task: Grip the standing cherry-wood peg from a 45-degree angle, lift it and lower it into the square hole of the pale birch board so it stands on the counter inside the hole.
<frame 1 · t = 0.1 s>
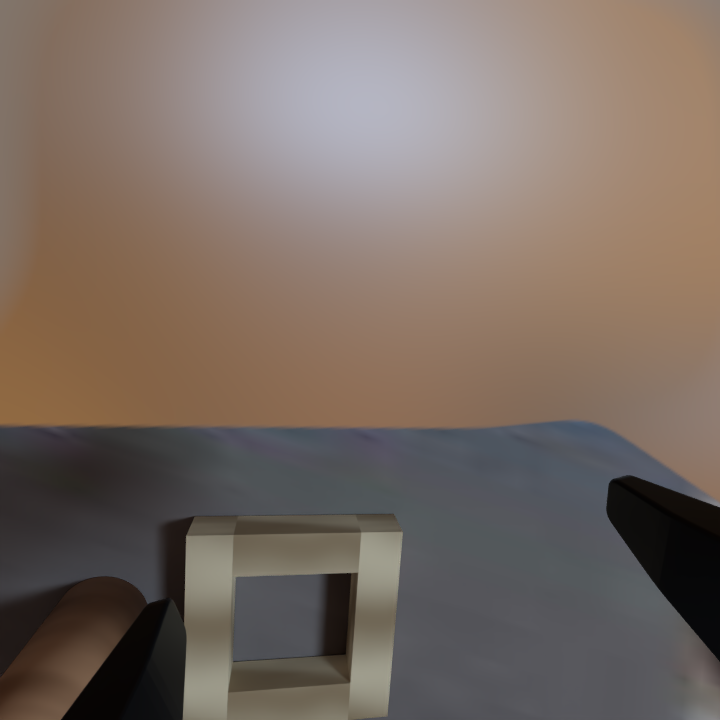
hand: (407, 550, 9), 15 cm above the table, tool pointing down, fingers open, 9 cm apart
birch hole board: (293, 606, 25), on the table
cherry wood peg: (102, 616, 23), on the table
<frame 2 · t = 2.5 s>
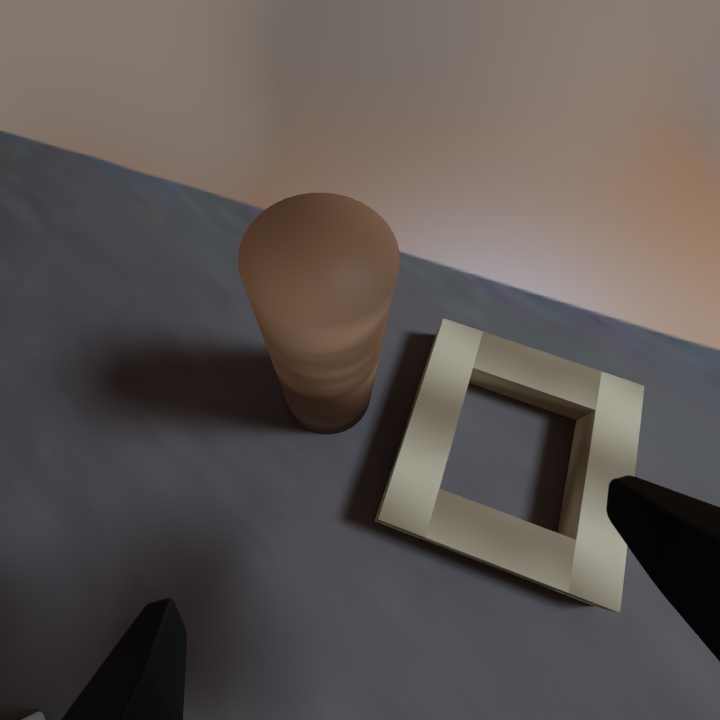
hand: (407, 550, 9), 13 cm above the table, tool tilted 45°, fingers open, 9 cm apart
birch hole board: (506, 455, 23), on the table
cherry wood peg: (328, 392, 24), on the table
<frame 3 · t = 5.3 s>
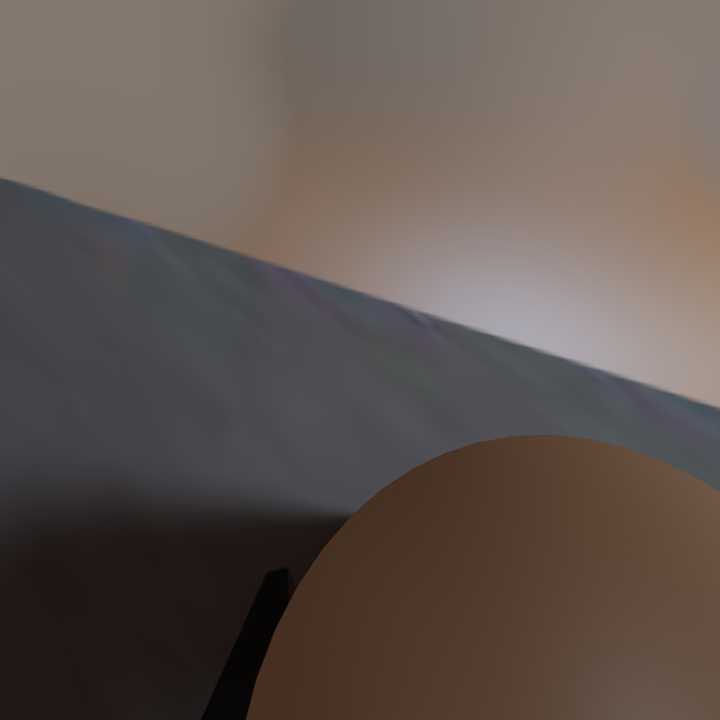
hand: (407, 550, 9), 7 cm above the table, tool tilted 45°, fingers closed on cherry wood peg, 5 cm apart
cherry wood peg: (390, 593, 14), on the table, touching gripper
when the fingers open (8 cm above the table, at t = 9.9 s): cherry wood peg stays where it is, resting in birch hole board.
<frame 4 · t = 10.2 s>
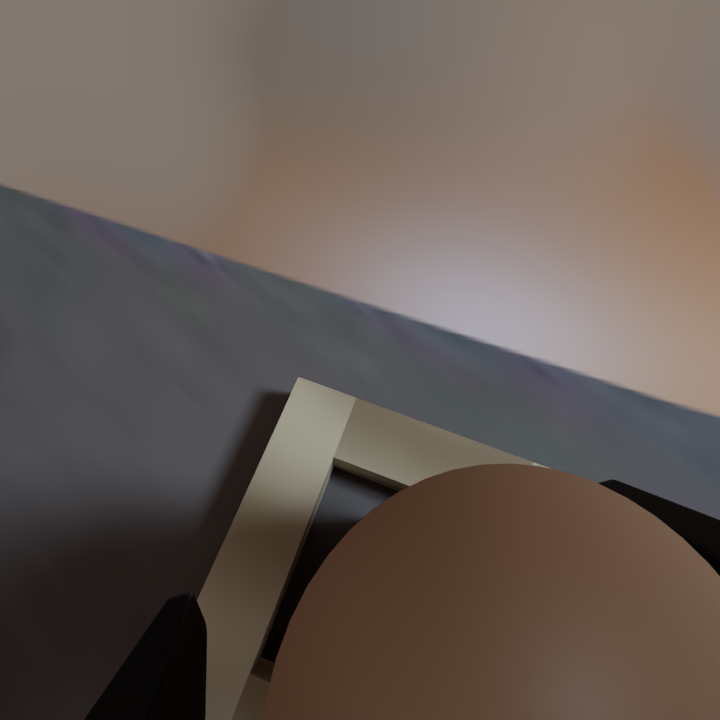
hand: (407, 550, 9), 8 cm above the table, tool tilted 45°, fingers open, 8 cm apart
birch hole board: (387, 589, 15), on the table
cherry wood peg: (387, 590, 15), resting in birch hole board
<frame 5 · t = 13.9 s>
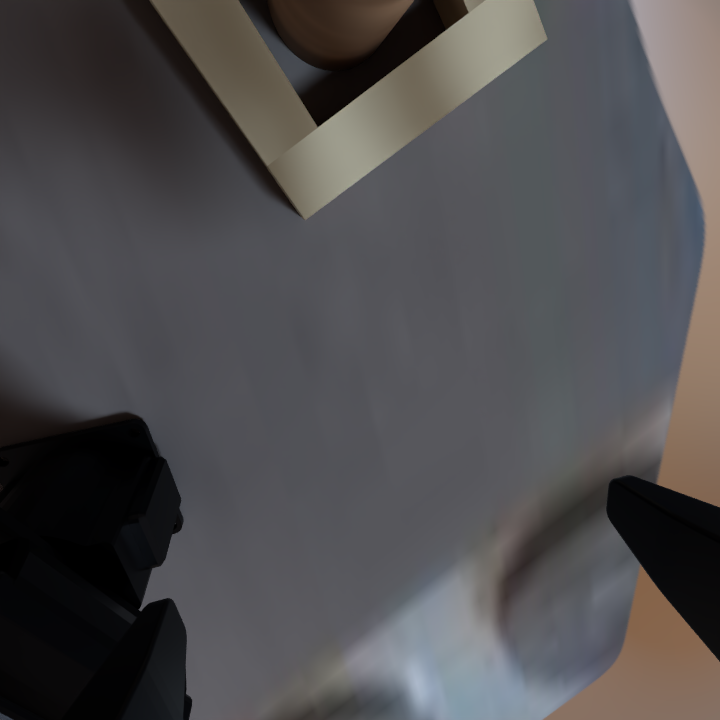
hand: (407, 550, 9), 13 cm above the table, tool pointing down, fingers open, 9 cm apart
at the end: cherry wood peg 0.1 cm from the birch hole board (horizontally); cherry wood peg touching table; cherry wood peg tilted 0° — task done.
